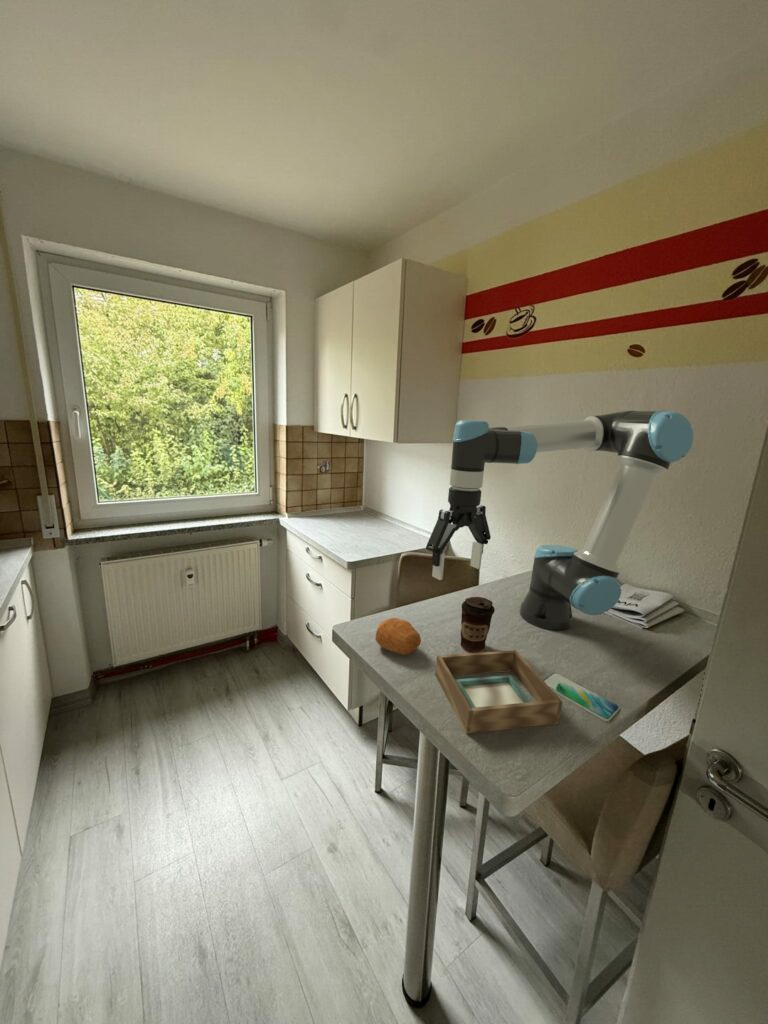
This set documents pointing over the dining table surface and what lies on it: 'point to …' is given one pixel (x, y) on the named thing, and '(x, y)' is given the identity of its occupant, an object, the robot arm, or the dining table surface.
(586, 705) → the smartphone
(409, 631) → the potato
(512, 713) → the crate
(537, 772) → the dining table surface
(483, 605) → the coffee cup
